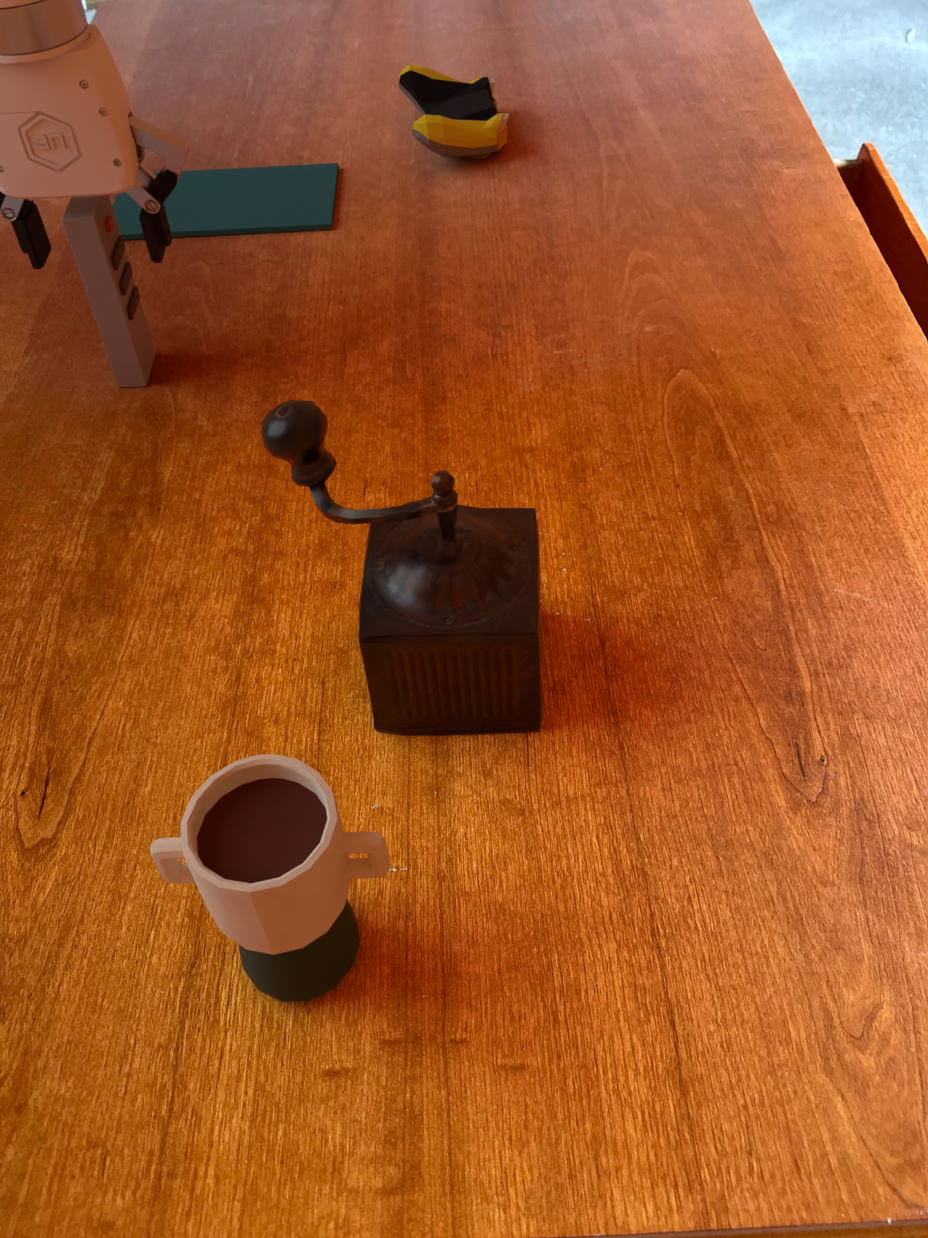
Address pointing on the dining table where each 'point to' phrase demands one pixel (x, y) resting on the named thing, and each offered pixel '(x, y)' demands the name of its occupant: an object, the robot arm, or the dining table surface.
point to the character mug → (275, 871)
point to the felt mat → (242, 201)
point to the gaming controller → (454, 113)
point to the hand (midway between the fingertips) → (101, 255)
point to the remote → (110, 288)
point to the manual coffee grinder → (434, 597)
